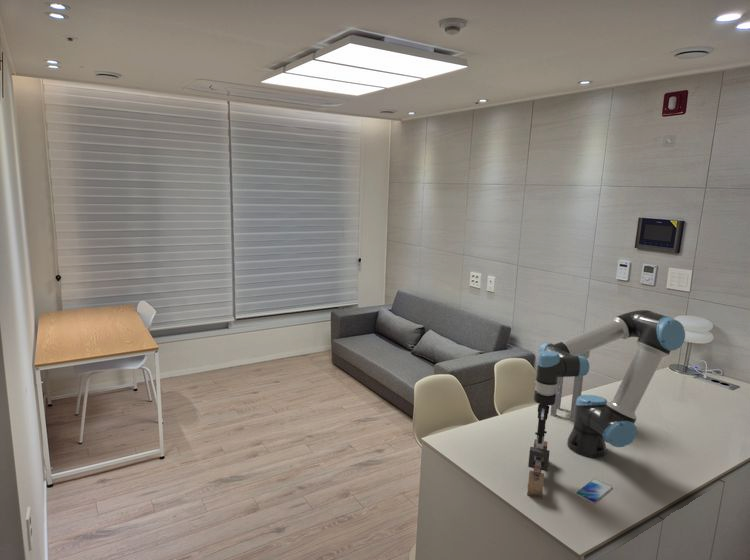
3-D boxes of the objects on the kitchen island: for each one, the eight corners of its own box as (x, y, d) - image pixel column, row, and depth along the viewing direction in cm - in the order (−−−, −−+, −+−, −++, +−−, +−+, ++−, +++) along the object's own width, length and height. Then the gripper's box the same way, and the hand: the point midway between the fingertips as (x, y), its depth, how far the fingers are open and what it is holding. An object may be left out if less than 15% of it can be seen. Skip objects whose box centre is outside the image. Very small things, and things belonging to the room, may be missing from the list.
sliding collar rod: (545, 459, 194) (547, 441, 193) (541, 498, 169) (544, 477, 168) (533, 457, 196) (534, 438, 195) (527, 495, 171) (529, 473, 169)
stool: (584, 412, 238) (592, 345, 232) (578, 424, 226) (586, 353, 219) (552, 404, 247) (558, 339, 240) (544, 415, 234) (551, 347, 227)
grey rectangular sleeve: (547, 467, 183) (549, 450, 181) (547, 471, 180) (549, 454, 179) (528, 463, 185) (530, 446, 184) (528, 467, 182) (529, 450, 181)
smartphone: (613, 487, 177) (594, 503, 167) (613, 489, 177) (594, 505, 167) (594, 477, 182) (575, 492, 172) (593, 479, 182) (574, 494, 172)
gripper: (536, 384, 187) (530, 439, 191) (533, 396, 175) (527, 455, 179) (556, 387, 184) (550, 444, 188) (555, 400, 172) (548, 460, 176)
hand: (539, 449), depth 183 cm, fingers closed
